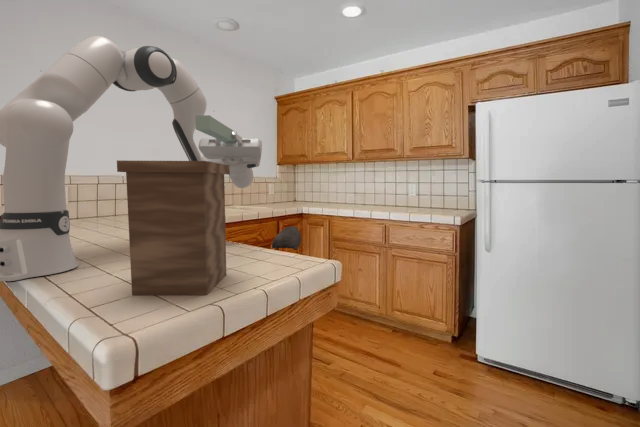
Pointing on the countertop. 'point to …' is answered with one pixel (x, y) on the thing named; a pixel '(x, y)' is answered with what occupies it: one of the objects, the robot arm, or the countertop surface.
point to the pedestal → (176, 226)
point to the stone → (288, 238)
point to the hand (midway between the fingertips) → (225, 133)
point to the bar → (213, 128)
